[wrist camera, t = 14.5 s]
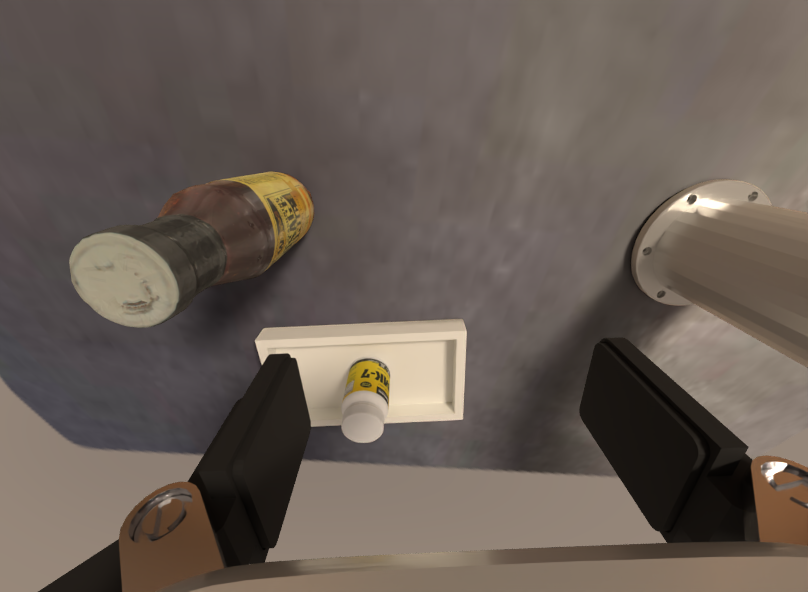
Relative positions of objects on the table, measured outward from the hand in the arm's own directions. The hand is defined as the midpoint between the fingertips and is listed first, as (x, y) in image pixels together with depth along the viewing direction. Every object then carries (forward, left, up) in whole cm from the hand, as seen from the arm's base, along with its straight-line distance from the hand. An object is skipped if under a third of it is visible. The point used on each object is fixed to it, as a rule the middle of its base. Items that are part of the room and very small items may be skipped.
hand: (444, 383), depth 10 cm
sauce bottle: (+12, -2, -24) cm, 26 cm away
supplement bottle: (+6, +17, -23) cm, 29 cm away
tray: (+6, +18, -23) cm, 30 cm away
